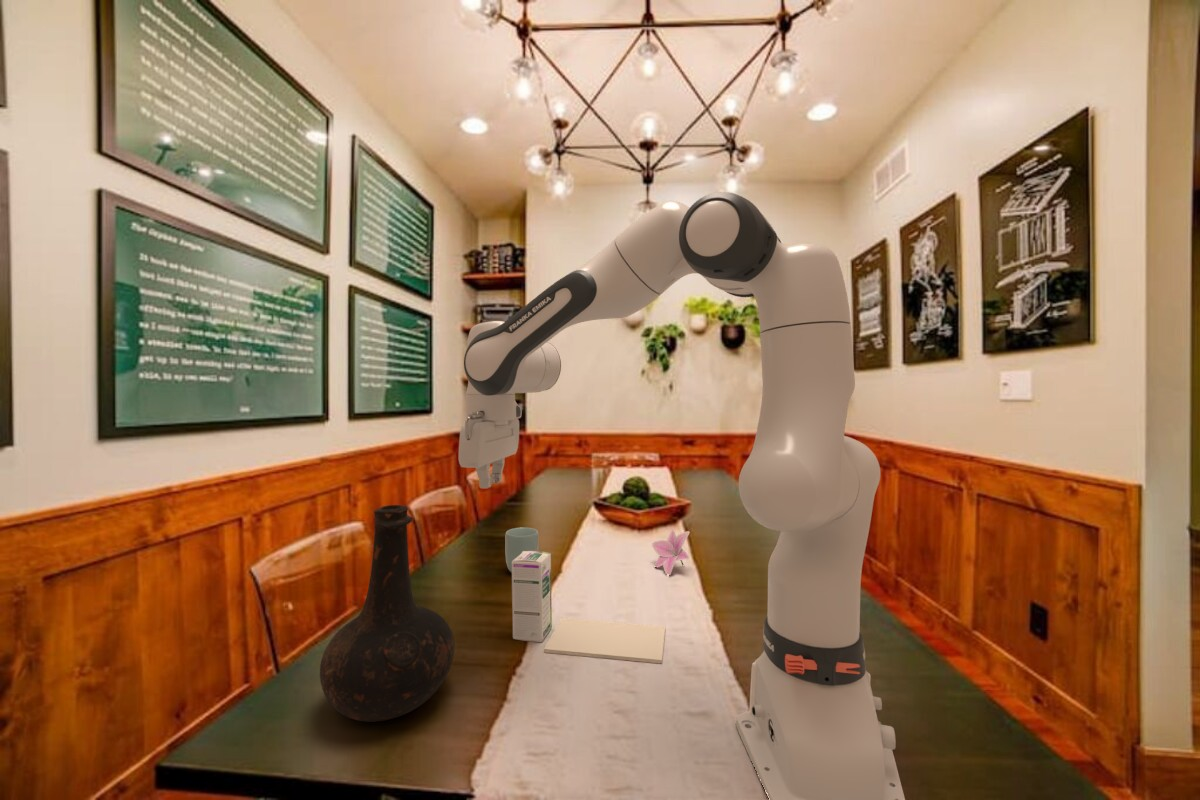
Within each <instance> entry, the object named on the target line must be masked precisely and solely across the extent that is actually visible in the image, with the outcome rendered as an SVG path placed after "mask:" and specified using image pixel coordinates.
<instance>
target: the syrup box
mask: <svg viewBox="0 0 1200 800" xmlns="http://www.w3.org/2000/svg"><path fill="white" fill-rule="evenodd" d="M551 556H552V555H551V552H547V551H540V550H538V551H523V552H522V553H521V554H520V555H519V556H517V557H516V558H515V559H514V560H513V561H512V572H511V604H512V605H511V607H512V608H511V611H512V613H511V614H512V618H511V619H512V639H513V640H517V641H524V642H536V643H542V642H543V641H544V640H545V638H546V637H547V636H548V635H549V632H550V631H551V629H552V627H553V622H552V621H553V619H552V613H553V612H552V611H553V610H552V609H553V608H552V607H553V606H552V559H551V558H552V557H551Z"/></svg>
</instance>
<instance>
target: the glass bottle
mask: <svg viewBox="0 0 1200 800" xmlns="http://www.w3.org/2000/svg"><path fill="white" fill-rule="evenodd" d="M408 510H409V507H408V506H406V505H401V504H389V505H384V506H381V507H378V508H376V509H374V510H373V511H374V512H373V514H374V518H373V520H374V524H373V525H374V534H373V535H374V537H373V551H372V561H371V569H370V577H369V582H368V588H367V593H366V597H365V601H364V604H363V607H362V609H361V612H360V613H359V615H358V616H356V617H355V618H353V619H352V620H350V621H349V622H347V623H346V624H345V625H343V626H342V628H340V629H339V630H338V631H337V632H336V633H335V634H334V635H333V637H332V638H331V639H330V640H329V642H328V644H327V645H326V647H325V649H324V651H323V654H322V657H321V661H320V664H319V665H320V666H319V680H320V685H321V689H322V692H323V695H324V697H325V698H326V700H327V701H328V703H329V704H330V706H331V707H332V708H333V709H335V710H336V711H337V712H338V713H340V715H342V716H344V717H346V718H349V719H351V720H355V721H359V722H370V723H371V722H373V723H374V722H384V721H385V722H386V721H388V720H392V719H395V718H396V719H397V718H398V717H402V716H404V715H406V714H408V713H411V712H412V711H414V710H416V709H417V708H419V707H420V706H422V705H423V704H425V703H426V702H427V701H428V700H429V699H430V698H431V697H432V696H433V695H434V694H435V693H436V692H437V690H438V689H440V686H441V685H442V684H443V683H444V681H445V679H446V678H447V676H448V674H449V672H450V669H451V667H452V665H453V659H454V656H455V639H454V634H453V632H452V629H451V627H450V625H449V624H448V622H447V620H446V619H444V618H443V617H442V616H441V615H440V614H438V613H437V612H435V610H432V609H430V608H428V607H427V608H426V607H423V606H419V605H417V603H416V602H415V599H414V594H413V591H412V585H411V584H412V583H411V582H412V581H411V576H410V575H411V574H410V572H411V571H410V565H409V564H410V563H409V549H408V547H409V546H408V543H409V542H408V525H409V524H410V523H412V522H413V520H414V518H413V517H412V516H410V515H408ZM441 687H442V686H441Z"/></svg>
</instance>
